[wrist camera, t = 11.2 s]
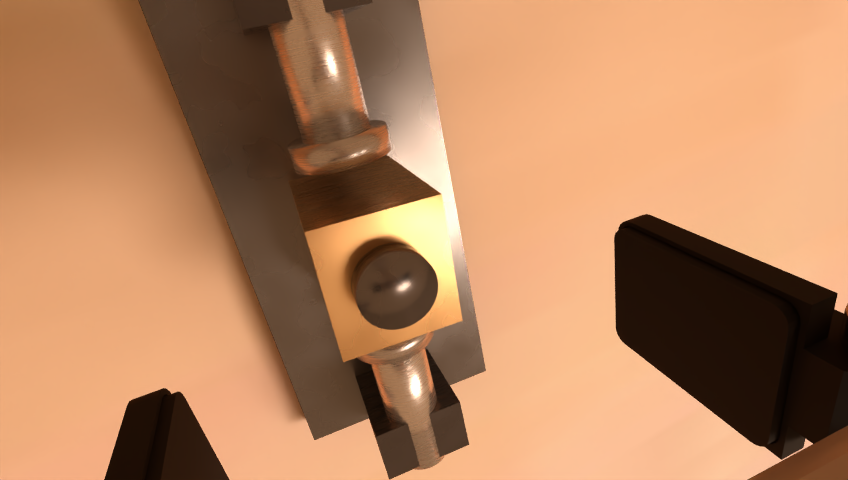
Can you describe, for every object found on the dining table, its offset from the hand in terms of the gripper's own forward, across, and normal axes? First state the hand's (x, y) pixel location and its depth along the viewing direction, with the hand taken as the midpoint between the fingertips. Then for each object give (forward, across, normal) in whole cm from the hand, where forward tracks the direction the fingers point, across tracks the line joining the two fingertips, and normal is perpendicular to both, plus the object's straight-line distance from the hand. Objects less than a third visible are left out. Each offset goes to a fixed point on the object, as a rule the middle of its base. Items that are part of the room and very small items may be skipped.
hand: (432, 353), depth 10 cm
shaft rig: (+12, 0, +1) cm, 12 cm away
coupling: (+11, 0, +1) cm, 11 cm away
